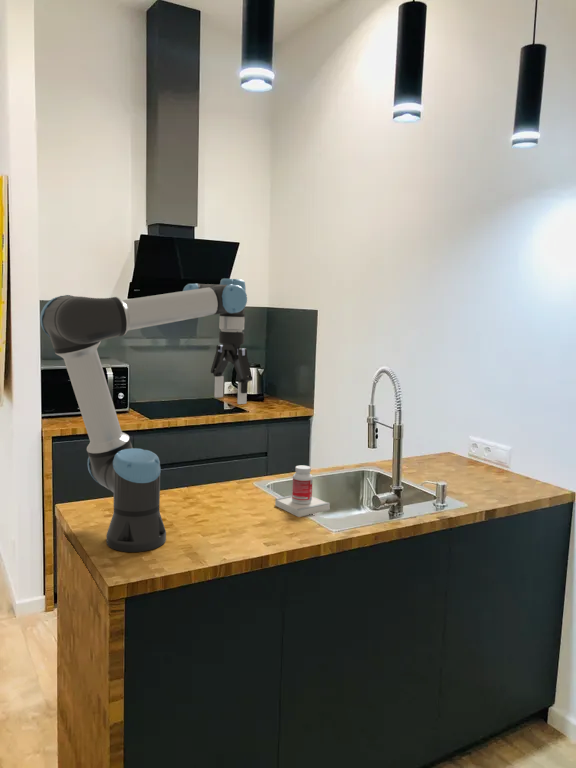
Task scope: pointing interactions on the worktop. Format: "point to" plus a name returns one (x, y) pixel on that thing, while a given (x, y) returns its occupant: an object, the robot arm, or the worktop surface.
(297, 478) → the pill bottle
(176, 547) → the worktop surface
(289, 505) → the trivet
